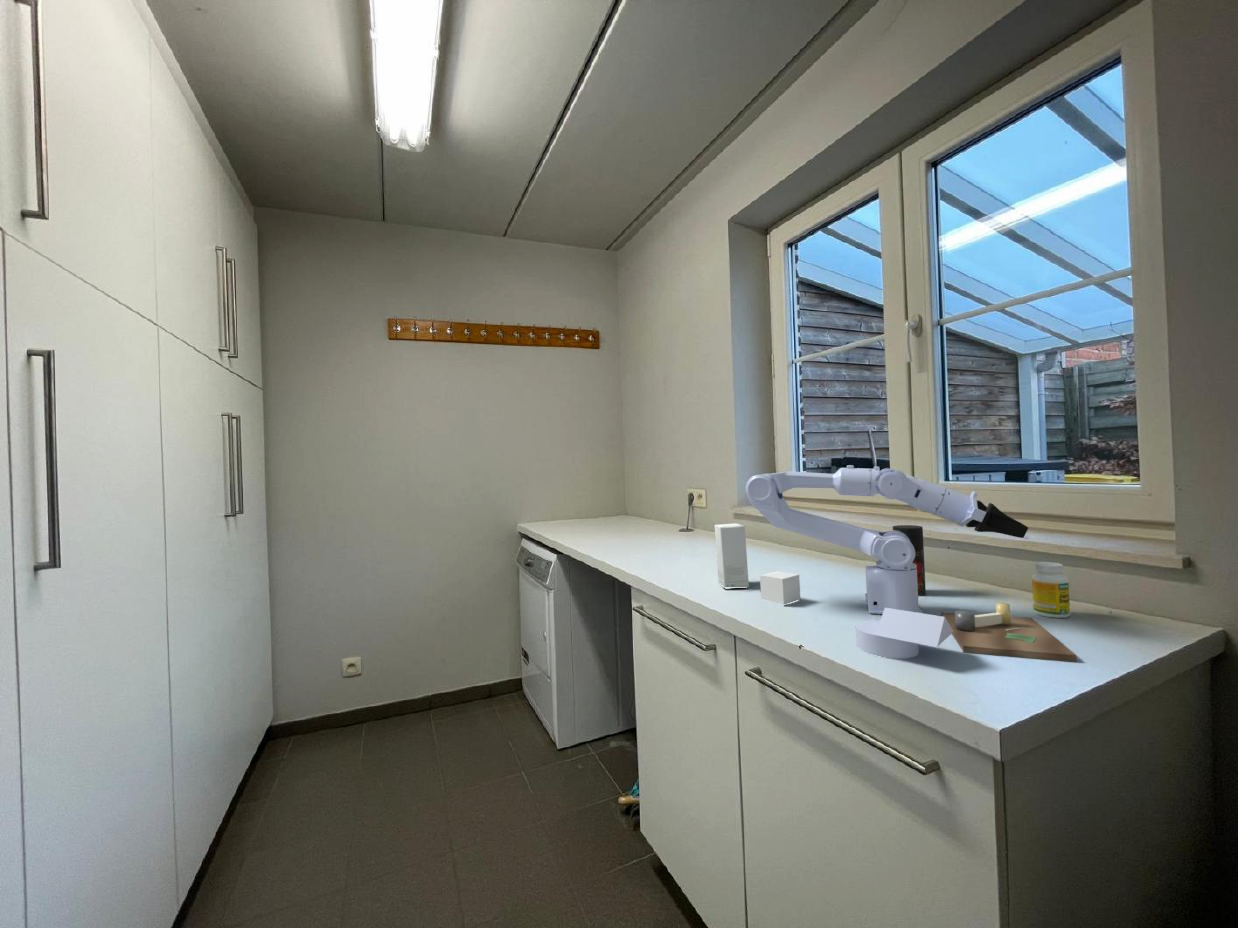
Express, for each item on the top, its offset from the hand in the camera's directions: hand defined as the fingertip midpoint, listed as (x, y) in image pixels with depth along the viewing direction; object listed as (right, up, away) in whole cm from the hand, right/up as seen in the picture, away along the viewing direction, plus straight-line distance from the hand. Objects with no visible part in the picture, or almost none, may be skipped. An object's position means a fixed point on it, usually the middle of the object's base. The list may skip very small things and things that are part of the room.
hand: (1019, 530), depth 95 cm
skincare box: (-45, -19, +36) cm, 61 cm away
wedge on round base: (-29, -18, -13) cm, 36 cm away
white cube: (-38, -19, +20) cm, 47 cm away
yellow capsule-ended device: (-11, -16, -6) cm, 20 cm away
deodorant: (-8, -17, +22) cm, 29 cm away
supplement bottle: (+8, -16, +2) cm, 18 cm away
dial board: (-10, -17, -8) cm, 21 cm away
